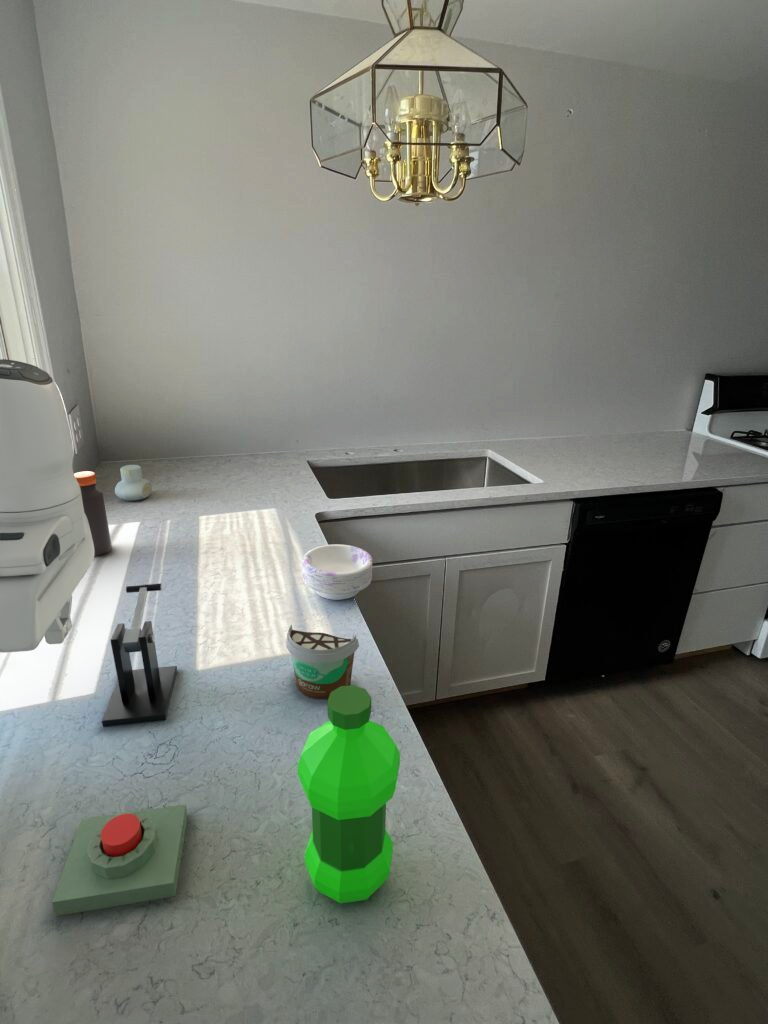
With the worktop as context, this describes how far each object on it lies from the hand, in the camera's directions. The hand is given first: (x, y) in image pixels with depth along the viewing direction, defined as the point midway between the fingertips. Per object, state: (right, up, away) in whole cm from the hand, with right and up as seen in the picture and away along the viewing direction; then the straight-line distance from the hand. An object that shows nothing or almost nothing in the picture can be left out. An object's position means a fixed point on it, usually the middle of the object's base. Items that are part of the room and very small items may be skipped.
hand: (59, 636), depth 62 cm
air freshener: (-41, +18, +111) cm, 120 cm away
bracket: (-3, -16, +27) cm, 32 cm away
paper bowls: (+26, -3, +61) cm, 67 cm away
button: (+7, -23, 0) cm, 24 cm away
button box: (+7, -26, +2) cm, 27 cm away
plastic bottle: (+32, -28, +1) cm, 43 cm away
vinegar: (-35, +4, +76) cm, 84 cm away
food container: (+25, -16, +30) cm, 42 cm away
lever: (-3, -4, +28) cm, 28 cm away
